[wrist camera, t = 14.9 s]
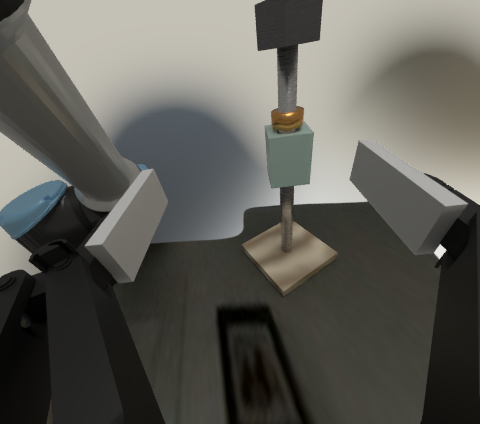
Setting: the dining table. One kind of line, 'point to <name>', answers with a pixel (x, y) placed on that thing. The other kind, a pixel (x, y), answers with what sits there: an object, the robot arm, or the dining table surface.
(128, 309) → the dining table surface
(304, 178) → the sleeve
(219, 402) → the dining table surface
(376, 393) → the dining table surface
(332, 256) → the stand base
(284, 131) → the post
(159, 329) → the dining table surface
